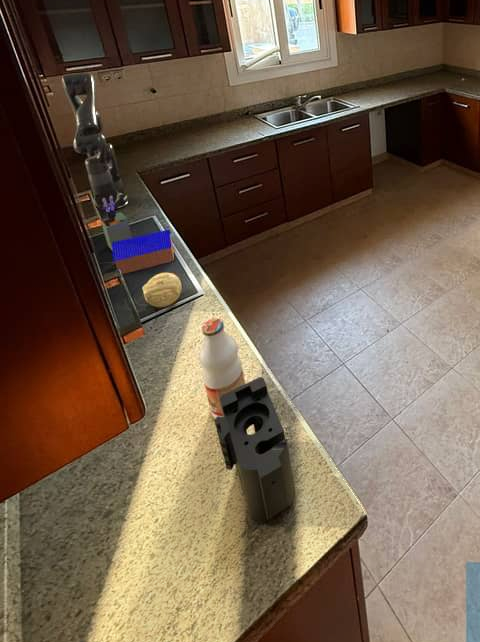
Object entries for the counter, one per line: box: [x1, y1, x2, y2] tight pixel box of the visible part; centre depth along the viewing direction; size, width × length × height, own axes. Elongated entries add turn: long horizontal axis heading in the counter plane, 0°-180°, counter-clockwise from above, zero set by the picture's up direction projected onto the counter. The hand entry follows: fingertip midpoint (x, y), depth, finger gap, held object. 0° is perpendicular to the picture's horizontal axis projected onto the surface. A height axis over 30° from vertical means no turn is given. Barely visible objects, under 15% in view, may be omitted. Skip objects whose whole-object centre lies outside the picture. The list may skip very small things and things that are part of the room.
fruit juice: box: [198, 317, 246, 420], centre depth 110 cm, size 9×9×28 cm
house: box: [112, 229, 175, 275], centre depth 174 cm, size 12×20×12 cm, turn 117°
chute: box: [101, 217, 133, 252], centre depth 184 cm, size 8×8×12 cm
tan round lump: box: [142, 272, 183, 308], centre depth 151 cm, size 12×12×11 cm
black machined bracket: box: [214, 376, 296, 526], centre depth 92 cm, size 12×21×22 cm, turn 34°
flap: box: [114, 211, 128, 222], centre depth 182 cm, size 8×4×1 cm, turn 47°
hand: (112, 218), depth 181 cm, fingers closed
